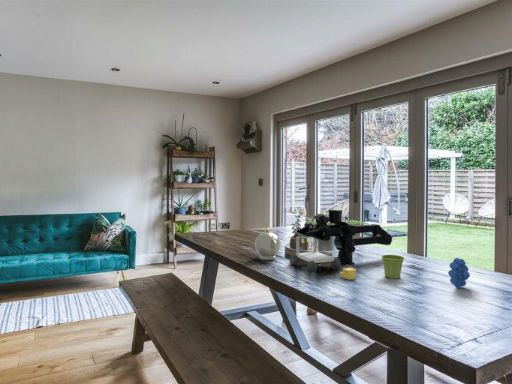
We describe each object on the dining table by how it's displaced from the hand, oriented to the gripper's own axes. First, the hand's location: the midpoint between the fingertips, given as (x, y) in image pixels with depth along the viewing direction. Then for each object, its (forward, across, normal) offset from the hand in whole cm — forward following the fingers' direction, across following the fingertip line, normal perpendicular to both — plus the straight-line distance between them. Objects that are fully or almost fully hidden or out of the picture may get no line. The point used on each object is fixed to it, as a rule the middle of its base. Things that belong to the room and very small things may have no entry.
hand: (301, 232), depth 175 cm
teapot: (+5, -24, +18) cm, 30 cm away
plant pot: (-28, +29, +17) cm, 44 cm away
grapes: (-39, +53, +17) cm, 68 cm away
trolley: (-8, 0, +17) cm, 19 cm away
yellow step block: (-11, +22, +17) cm, 30 cm away
